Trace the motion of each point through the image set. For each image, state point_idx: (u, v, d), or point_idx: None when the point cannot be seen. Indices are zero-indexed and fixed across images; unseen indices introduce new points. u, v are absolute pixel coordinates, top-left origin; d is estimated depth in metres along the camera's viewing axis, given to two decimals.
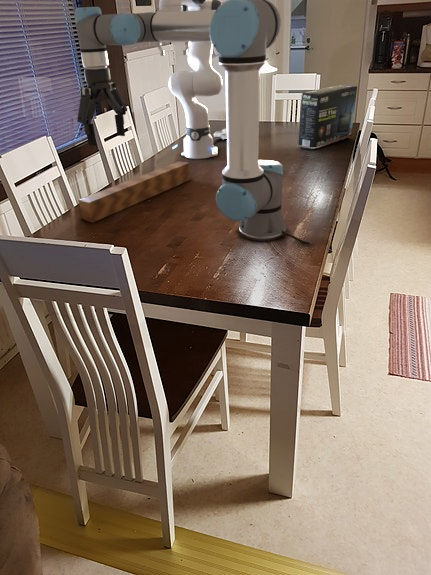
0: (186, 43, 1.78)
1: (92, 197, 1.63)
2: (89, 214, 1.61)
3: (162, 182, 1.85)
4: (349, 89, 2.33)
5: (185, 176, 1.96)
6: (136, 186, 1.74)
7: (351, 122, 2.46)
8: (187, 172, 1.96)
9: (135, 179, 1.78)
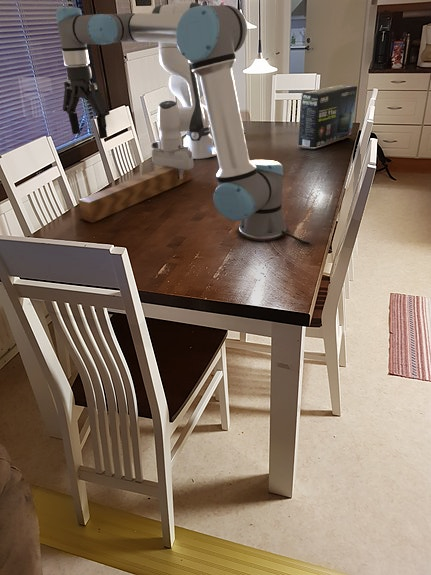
0: (179, 170, 1.89)
1: (92, 197, 1.63)
2: (89, 214, 1.61)
3: (162, 182, 1.85)
4: (349, 89, 2.33)
5: (185, 176, 1.96)
6: (136, 186, 1.74)
7: (351, 122, 2.46)
8: (187, 172, 1.96)
9: (135, 179, 1.78)
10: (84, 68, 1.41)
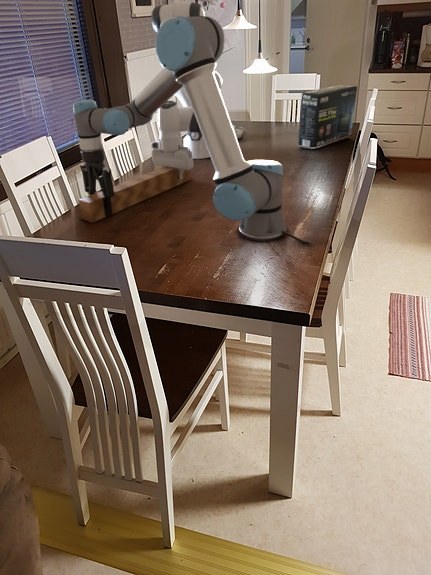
0: (179, 170, 1.89)
1: (93, 197, 1.63)
2: (89, 214, 1.61)
3: (162, 182, 1.85)
4: (349, 89, 2.33)
5: (185, 176, 1.96)
6: (136, 186, 1.74)
7: (351, 122, 2.46)
8: (187, 172, 1.96)
9: (135, 179, 1.78)
10: (98, 152, 1.54)
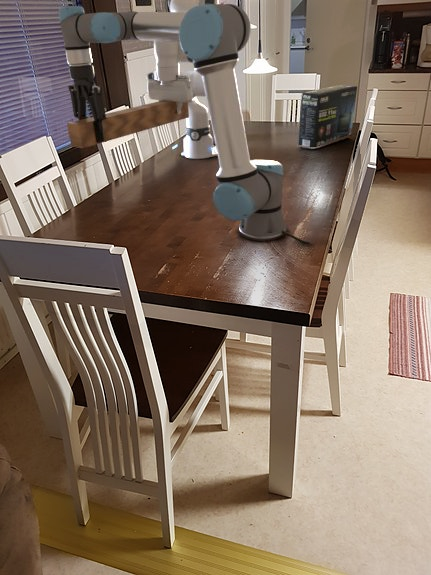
0: (177, 103, 1.76)
1: (82, 121, 1.49)
2: (78, 139, 1.47)
3: (159, 115, 1.72)
4: (349, 89, 2.33)
5: (183, 112, 1.82)
6: (130, 115, 1.61)
7: (351, 122, 2.46)
8: (185, 108, 1.83)
9: (129, 109, 1.65)
10: (87, 67, 1.41)
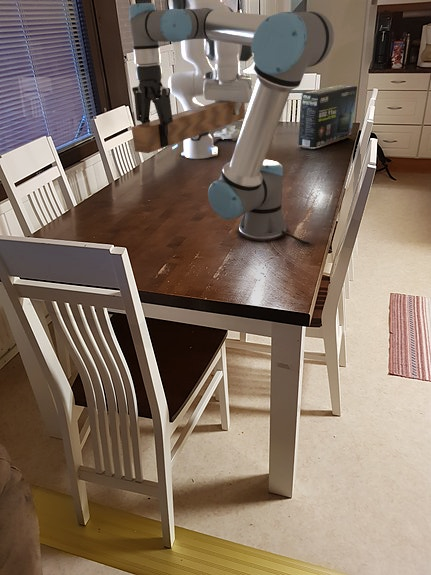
0: (236, 103, 1.68)
1: (147, 124, 1.41)
2: (144, 143, 1.40)
3: (218, 116, 1.64)
4: (349, 89, 2.33)
5: (240, 113, 1.74)
6: (192, 117, 1.53)
7: (351, 122, 2.46)
8: (242, 109, 1.75)
9: (189, 110, 1.57)
10: (156, 67, 1.33)
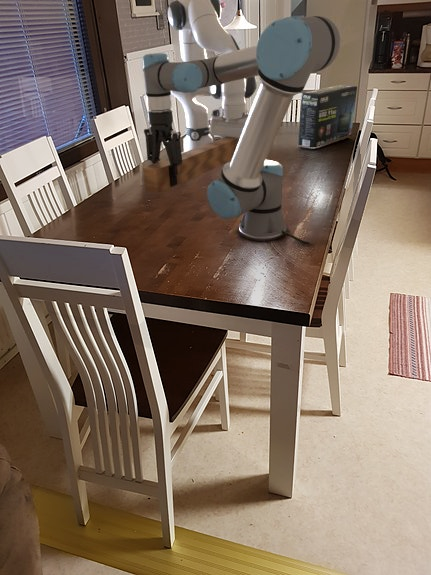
0: None
1: (157, 165, 1.47)
2: (154, 184, 1.45)
3: (225, 153, 1.70)
4: (349, 89, 2.33)
5: None
6: (200, 156, 1.59)
7: (351, 122, 2.46)
8: None
9: (198, 148, 1.63)
10: (167, 113, 1.39)
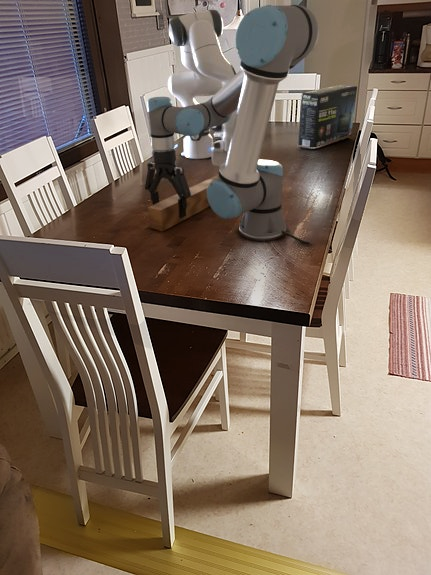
0: None
1: (162, 204, 1.54)
2: (159, 223, 1.52)
3: None
4: (349, 89, 2.33)
5: None
6: (203, 193, 1.66)
7: (351, 122, 2.46)
8: None
9: (200, 185, 1.70)
10: (171, 152, 1.45)
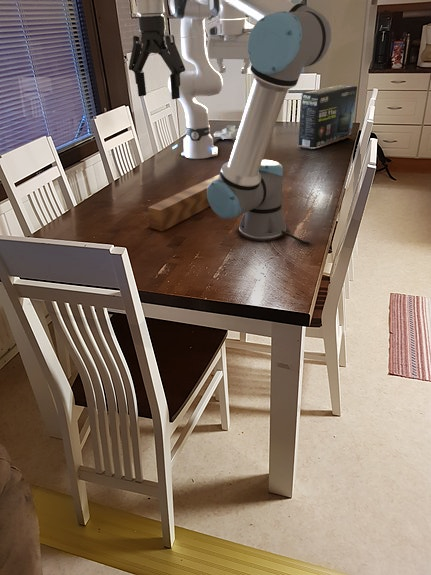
0: (244, 61, 1.59)
1: (162, 204, 1.54)
2: (159, 223, 1.52)
3: None
4: (349, 89, 2.33)
5: None
6: (203, 193, 1.66)
7: (351, 122, 2.46)
8: None
9: (200, 185, 1.70)
10: (159, 18, 1.26)
